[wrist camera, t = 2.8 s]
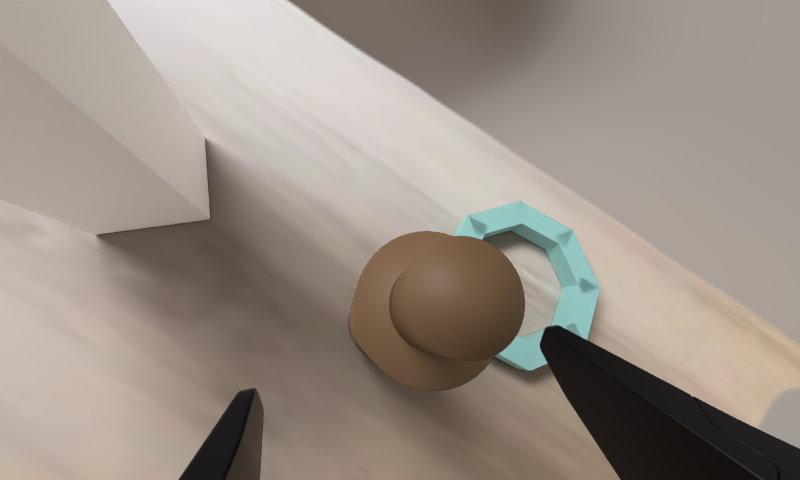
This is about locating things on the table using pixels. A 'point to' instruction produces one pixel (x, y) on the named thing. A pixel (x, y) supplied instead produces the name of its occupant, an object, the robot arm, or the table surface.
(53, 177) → the milk
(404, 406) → the table surface
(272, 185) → the table surface
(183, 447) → the table surface
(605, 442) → the robot arm
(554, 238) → the teal faceted ring
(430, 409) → the table surface
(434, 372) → the brown peg
